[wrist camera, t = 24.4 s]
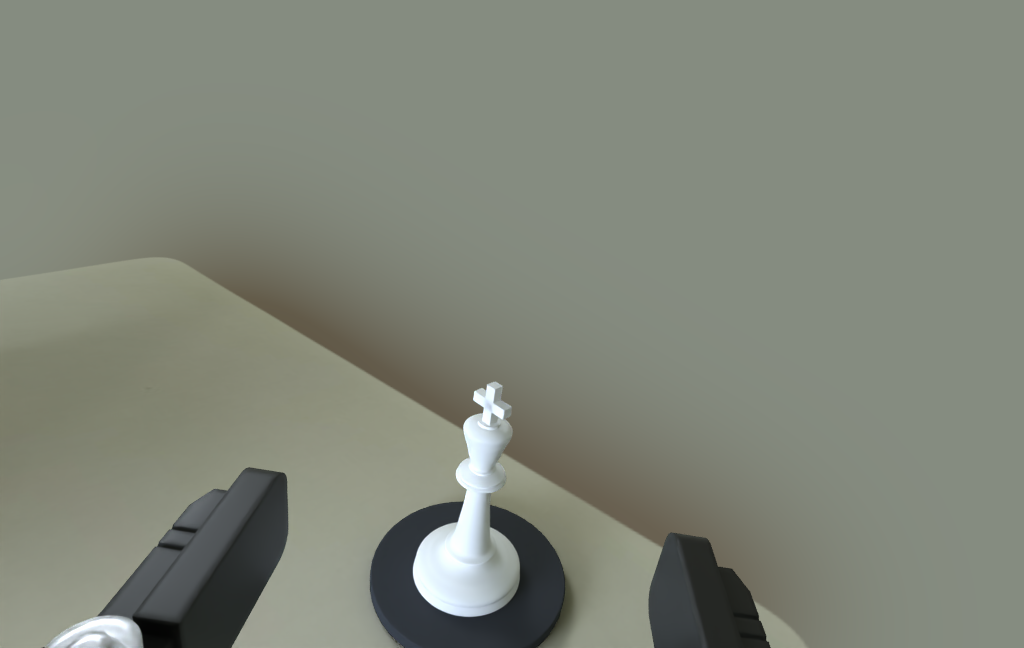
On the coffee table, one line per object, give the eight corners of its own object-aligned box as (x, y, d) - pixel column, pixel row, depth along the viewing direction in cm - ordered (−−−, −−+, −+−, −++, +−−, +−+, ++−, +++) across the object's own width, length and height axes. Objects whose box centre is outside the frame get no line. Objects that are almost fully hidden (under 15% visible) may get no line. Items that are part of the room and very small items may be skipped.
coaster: (597, 575, 29) (599, 566, 28) (482, 717, 22) (484, 707, 21) (459, 486, 33) (460, 477, 33) (327, 580, 26) (327, 570, 26)
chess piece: (463, 639, 24) (496, 438, 20) (390, 565, 27) (405, 375, 23) (541, 576, 27) (581, 394, 23) (469, 516, 30) (494, 345, 26)
